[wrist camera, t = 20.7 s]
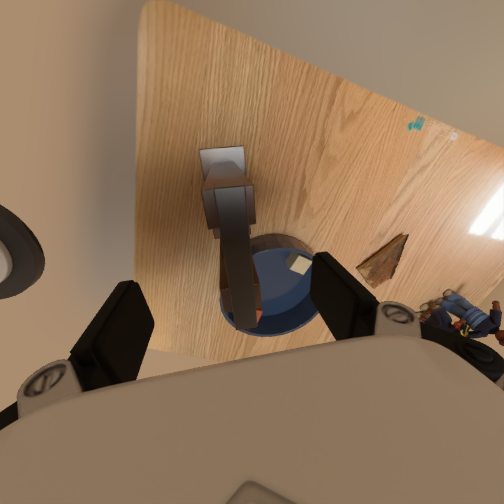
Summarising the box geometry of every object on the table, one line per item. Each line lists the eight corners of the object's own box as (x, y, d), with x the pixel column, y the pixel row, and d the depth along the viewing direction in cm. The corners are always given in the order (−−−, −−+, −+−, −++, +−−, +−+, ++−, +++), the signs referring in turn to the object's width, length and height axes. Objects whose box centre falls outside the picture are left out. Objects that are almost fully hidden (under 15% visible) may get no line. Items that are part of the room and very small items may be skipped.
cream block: (284, 260, 38) (289, 269, 35) (293, 247, 36) (299, 255, 34) (297, 266, 39) (303, 275, 36) (306, 253, 37) (313, 261, 35)
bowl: (227, 322, 44) (228, 344, 39) (212, 241, 34) (210, 257, 30) (313, 308, 45) (324, 327, 40) (320, 227, 36) (336, 240, 31)
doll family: (434, 279, 46) (506, 325, 34) (465, 280, 48) (545, 324, 36) (390, 348, 57) (434, 401, 45) (417, 347, 58) (466, 398, 46)
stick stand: (214, 236, 34) (208, 332, 17) (199, 149, 28) (164, 157, 10) (250, 231, 35) (280, 320, 17) (242, 145, 28) (278, 147, 11)
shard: (402, 231, 39) (410, 234, 37) (415, 255, 42) (423, 259, 40) (354, 266, 41) (359, 271, 40) (370, 287, 44) (375, 292, 43)
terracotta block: (241, 309, 42) (243, 320, 39) (246, 298, 40) (248, 309, 38) (255, 311, 42) (257, 322, 40) (260, 300, 41) (263, 311, 39)
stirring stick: (242, 180, 11) (245, 185, 10) (254, 311, 16) (257, 327, 15) (213, 183, 11) (212, 188, 10) (234, 314, 16) (236, 331, 15)
